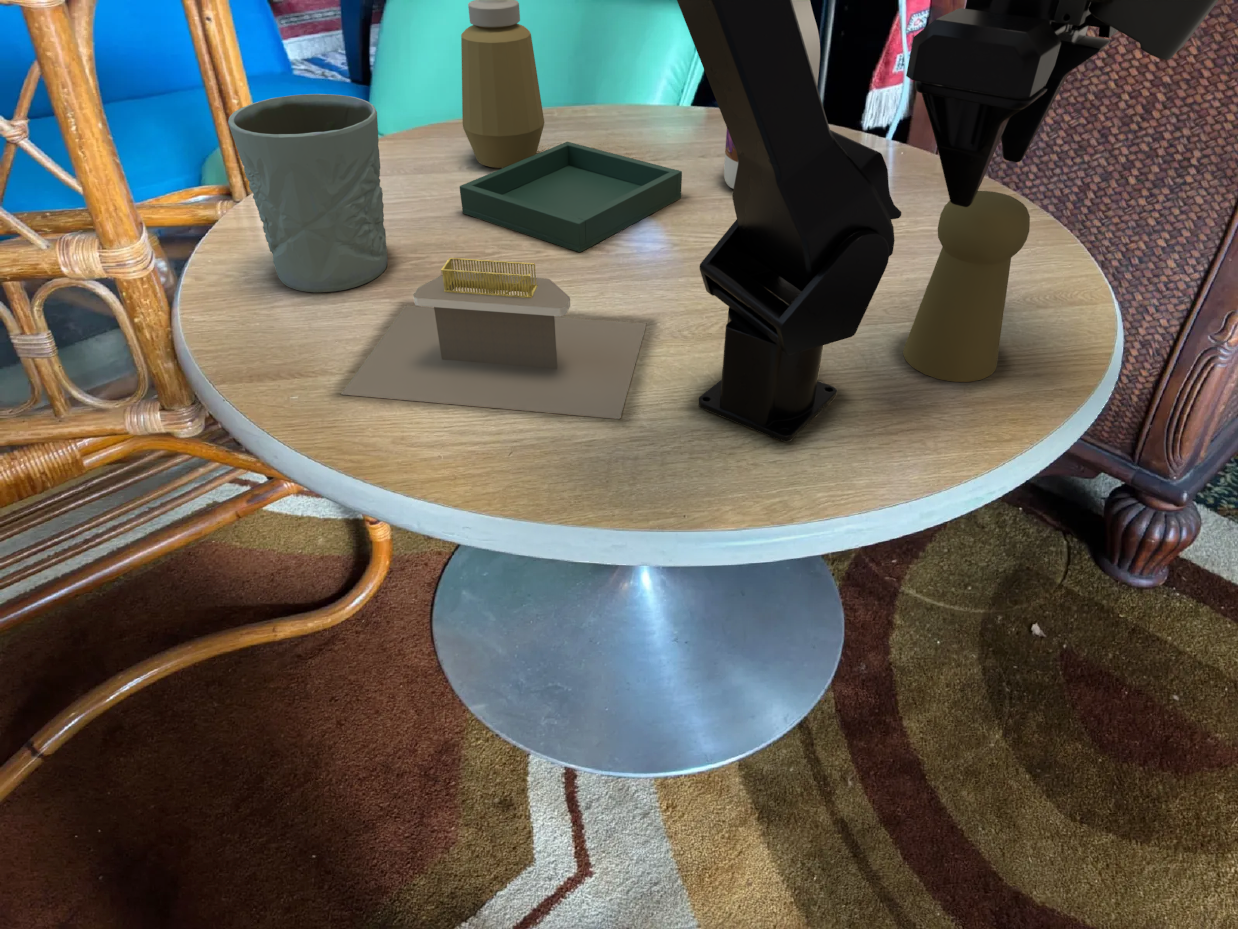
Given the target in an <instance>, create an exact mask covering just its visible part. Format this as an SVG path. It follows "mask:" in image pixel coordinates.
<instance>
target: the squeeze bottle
mask: <svg viewBox="0 0 1238 929" xmlns="http://www.w3.org/2000/svg"><path fill="white" fill-rule="evenodd" d="M467 7H468V16H469V18H468V19H469V23H470V26H468V27H467V28H465V29H464V30H463V32H462V33H461V35H460V38H461V41H460V42H461V43H460V44H461V46H460V47H461V49H460V50H461V114H462V117H461V118H462V121H461V122H462V128H463V131H464V133H465V136H466V137H467V140H468V142H469V145H470V147H471V149H472V152H473V154H474V156H475V158H476V161H477V162H478V163H479V164H480V165H482V166H486V167H489V168H496V169H502V168H504V167H507V166H509V165H512V164H514V163H517V162H519V161H521V160H524V159H526V158H529V157H531V156H533V155H536V154H538V149H539V146H540V142H541V139H542V135H543V130H544V127H545V117H544V111H543V105H542V103H543V102H542V98H541V91H540V84H539V79H538V78H539V77H538V70H537V65H536V58H535V50H534V46H533V39H532V38H533V37H532V33H531V31H530V30H529V29H528V28H527V27H526V26H524V25H522V24H520V21H521V13H520V11H521V10H520V3H519V1H518V0H471V1H470V2H468V3H467Z"/></svg>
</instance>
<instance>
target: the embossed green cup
mask: <svg viewBox="0 0 1238 929" xmlns="http://www.w3.org/2000/svg"><path fill="white" fill-rule="evenodd" d="M227 120H228V121H227V124H228V127H229V130H230V133H231V136H232V138H233V141H234V144H235V147H236V150H237V153H238V156H239V159H240V161H241V163H242V166H243V171H244V174H245V178H246V180H247V181H248V182H249V183H248V188H249V190H250V191H251V193H252V199H253V200H254V204H255V207H256V208H257V211H258V215H259V216H258V217H259V218H260V221H261V222H262V229H263V232H264V236H265V240H266V242H267V245H268V249H269V252H270V253H271V254H272V263H273V266H274V270H275V272H276V275H277V277H278V279H279V280H280V282H281V283H282V284H283V285H284V286H286V287H288V288H290V289H293V290H296V291H300V292H307V293H334V292H341V291H345V290H350V289H354V288H357V287H360V286H363V285H365V284H367V283H370V282H372V281H374V280H375V279H376V278H378V277H380V276H381V275H382V274H383V273H384V272H385V271H386V268H387V266H388V259H389V258H388V248H387V247H388V246H387V234H386V228H385V226H384V221H385V219H384V217H385V214H384V202H383V196H384V195H383V194H384V193H383V189H382V187H381V179H380V176H381V158H380V148H379V143H380V142H379V140H380V139H379V123H378V111H377V109H376V107H375V105H373V104H372V103H371V102H370V101H367V100H365V99H362V98H360V97H356V96H350V95H343V94H329V93H327V94H326V93H308V94H293V95H285V96H278V97H271V98H267V99H263V100H259V101H256V102H253V103H249V104H247V105H245V106H242V107H240V108H238V109H236V110H235V111H233V112H232V113H231V115H230V116H229V117H228V119H227Z"/></svg>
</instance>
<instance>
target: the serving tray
mask: <svg viewBox="0 0 1238 929" xmlns="http://www.w3.org/2000/svg"><path fill="white" fill-rule="evenodd" d="M682 181H683V171H682V170H679V169H675V168H671V167H666V166H663V165H659V164H656V163H653V162H648V161H644V160H640V159H636V158H632V157H628V156H625V155H620V154H617V153H613V152H611V151H610V152H608V151H605V150H601V149H598V148H594V147H590V146H586V145H583V144H578V143H575V142H571V141H565V142H563V143H560V144H558V145H555V146H553V147H551V148H548V149H546V150H544V151H543V150H542V151H540V152H537V154H536V155H533V156H531V157H529V158H526V159H524V160H521V161H519V162H517V163H514V164H512V165H509V166H507V167H504V168H499V169H498V170H495V171H492V172H490V173H487V174H486V175H483V176H479V177H478V178H476V179H473V180H471V181H469V182H466V183H463V184H461V185H459V193H460V203H461V212H462V214H464V215H466V216H470V217H473V218H476V219H479V220H482V221H485V222H488V223H490V224H494V225H496V226H499V227H503V228H506V229H509V230H511V231H515V232H517V233H521V234H524V235H526V236H529V237H533V238H536V239H539V240H542V241H545V242H548V243H550V244H553V245H557V246H559V247H562V248H565V249H568V250H572V251H574V252H577V253H582V252H584V251H585V250H587V249H589V248H592V247H593V246H595V245H597V244H599V243H601V242H603V241H604V240H607V238H609V237H611V236H613V235H616V234H617V233H619V232H621V231H622V230H624V229H626V228H629V227H630V226H632V225H633V224H636V223H637V222H639V221H641V220H643V219H645V218H647V217H648V216H650V215H652V214H654V213H656V212H658V211H659V210H661V209H663V208H665V207H667V206H668V205H670V204H673V203H674V202H676V201H678V200H680V199H681V198H682V184H683V182H682Z"/></svg>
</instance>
